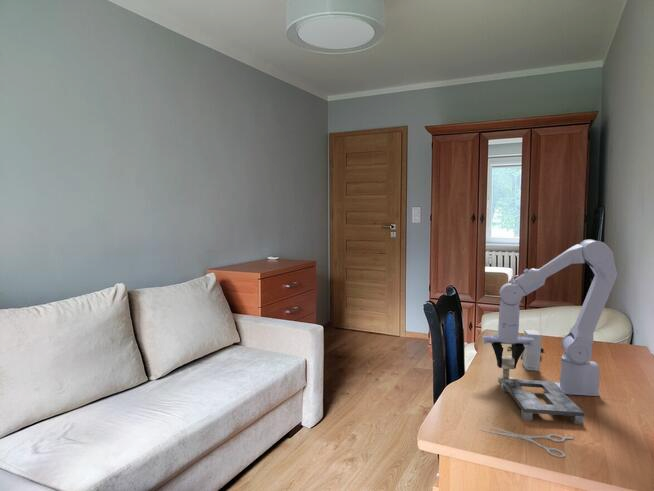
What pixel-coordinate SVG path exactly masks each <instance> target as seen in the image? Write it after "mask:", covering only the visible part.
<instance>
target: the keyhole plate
mask: <svg viewBox="0 0 654 491" xmlns="http://www.w3.org/2000/svg"><path fill="white" fill-rule="evenodd" d="M500 383H501V384H500V389H501V391H502V392H508V393H509V394H510V395H511V397H512V398H513V400H514V401H515V403H516V404H517V405H518V406H519V408H520V410H521V412H520V414H521V415H520V417H521V419H522V420H523V421H528V422H533V416H534V415H533V414H541V415H556V416H568V417H569V416H570V420H571V422H572V423H574V424H575V425H584V420H585V412H584V411H583V410H582V409H581V408H580V407H579V406H578V405H577V404H576V403H575V402H574V401H573V400H572V399H571V398H570V397H569V396H567V394H564V393H563V392H562V391H561V390H560V389H559V388H558V387H557V386H556V385H555V384H554V382H553V381H552V380H535V379H517V378H515V379H514V378H513V379H503V378H502V380H501V382H500ZM523 387H526V388H527V387H528V388H539V389H540V388H541V389H542V390H543V398H544V399H545V400H546V401H547V403H548V404H547V403H543V402H542V401H541V400H540V399H539V398H538V397H537V395H536V394H535V393H534V392H531V391H529V392H528V391H525V389H524V388H523Z"/></svg>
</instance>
